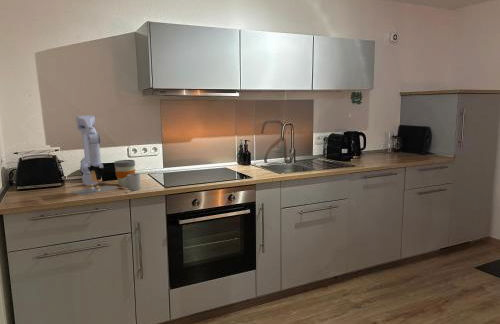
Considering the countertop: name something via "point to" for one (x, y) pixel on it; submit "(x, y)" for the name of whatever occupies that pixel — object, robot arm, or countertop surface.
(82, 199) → the countertop surface
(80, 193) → the board
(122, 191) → the countertop surface
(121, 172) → the reusable coffee cup
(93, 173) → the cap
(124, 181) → the cup
